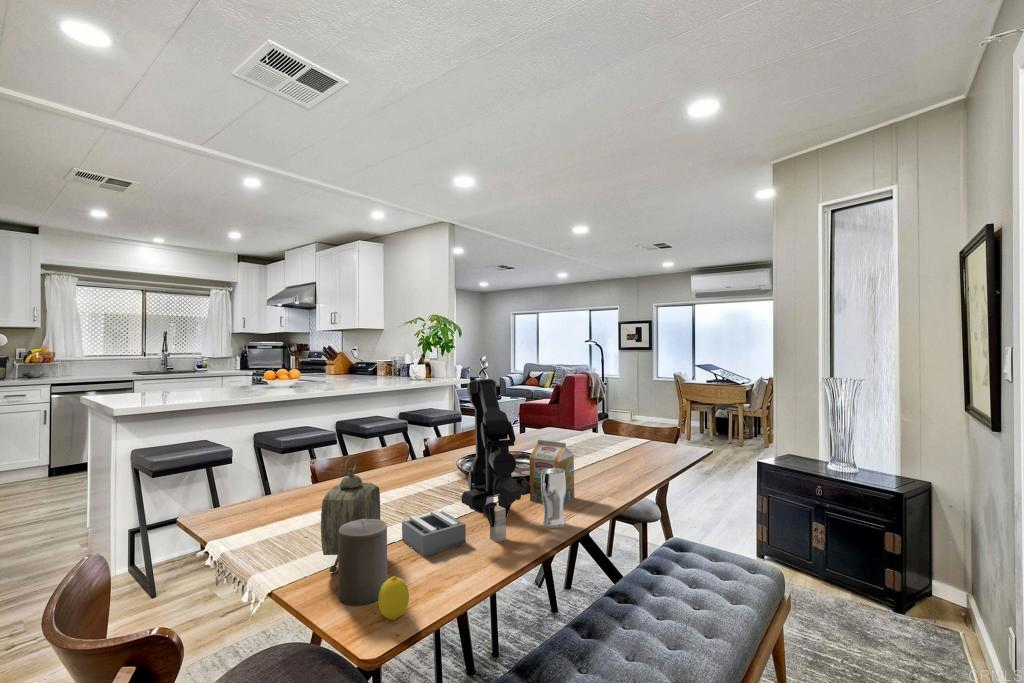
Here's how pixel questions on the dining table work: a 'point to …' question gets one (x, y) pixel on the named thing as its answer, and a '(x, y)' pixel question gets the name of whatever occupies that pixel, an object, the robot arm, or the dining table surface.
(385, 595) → the lemon
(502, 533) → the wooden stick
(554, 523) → the beer glass
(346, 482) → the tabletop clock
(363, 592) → the pillar candle
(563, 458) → the milk carton
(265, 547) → the dining table surface
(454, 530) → the grey divided tray
